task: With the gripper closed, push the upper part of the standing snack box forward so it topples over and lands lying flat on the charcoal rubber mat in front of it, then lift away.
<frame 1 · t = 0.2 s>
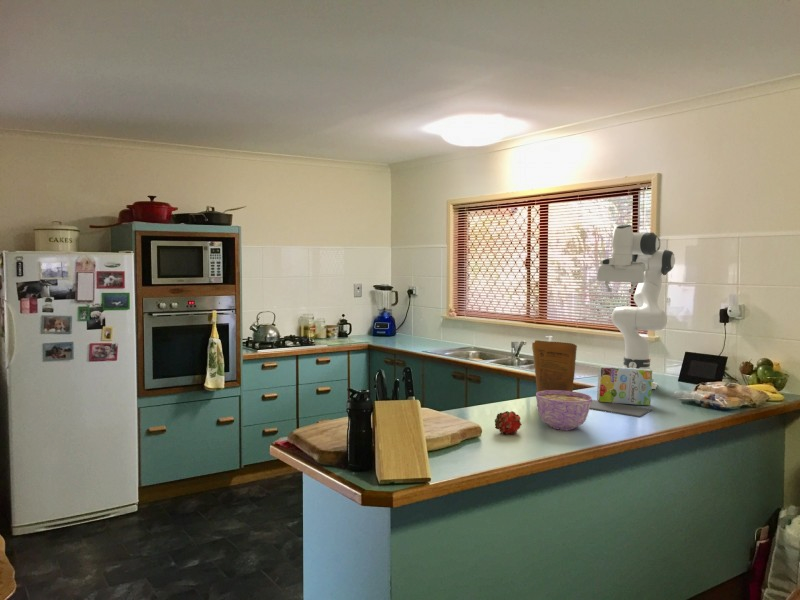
hand: (619, 292, 295), 47 cm above the table, tool pointing down, fingers open, 8 cm apart
bowl of food: (562, 427, 241), on the table
pancake mix bag: (552, 410, 269), on the table
snack box: (623, 403, 284), on the table, touching charcoal rubber mat
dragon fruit: (508, 433, 231), on the table
charcoal rubber mat: (613, 408, 274), on the table
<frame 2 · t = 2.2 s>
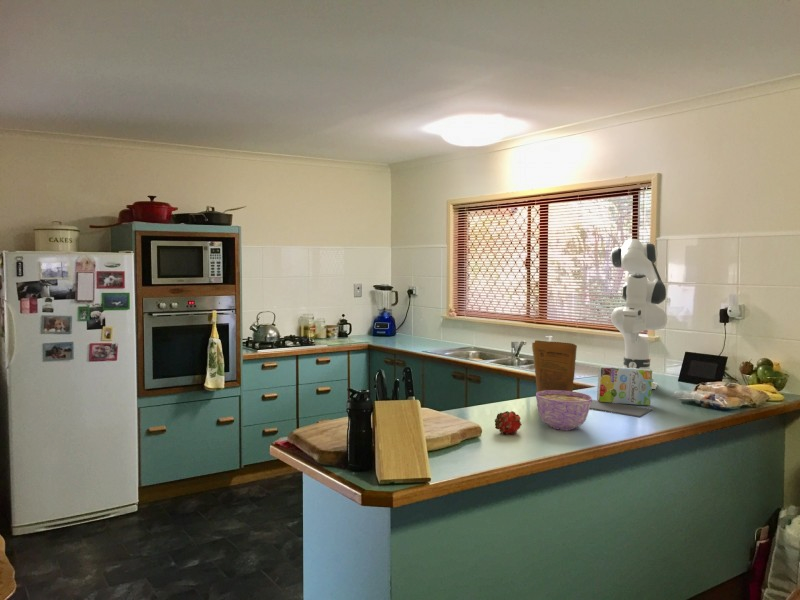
hand: (634, 342, 291), 25 cm above the table, tool pointing down, fingers closed
nothing on the table moved.
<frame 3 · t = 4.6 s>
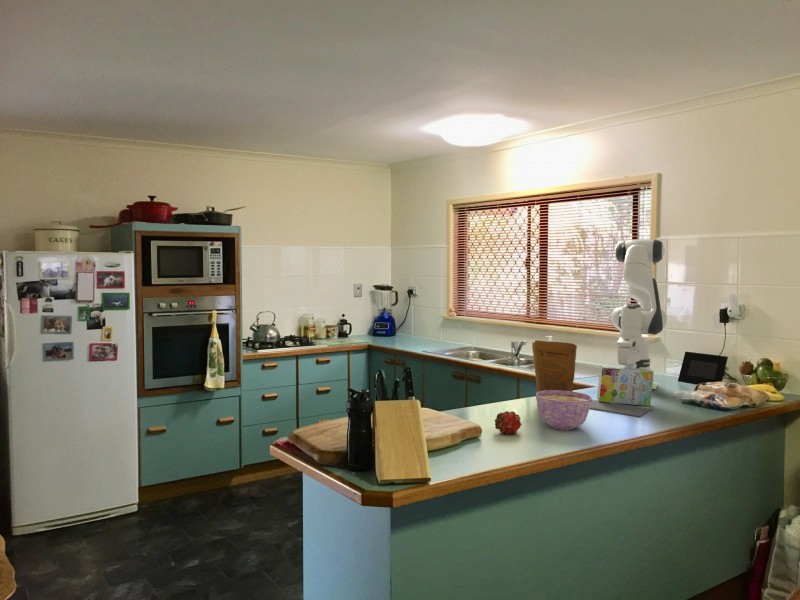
hand: (628, 373, 287), 12 cm above the table, tool pointing down, fingers closed
snack box: (623, 403, 284), on the table, touching charcoal rubber mat, gripper
everything else where it was.
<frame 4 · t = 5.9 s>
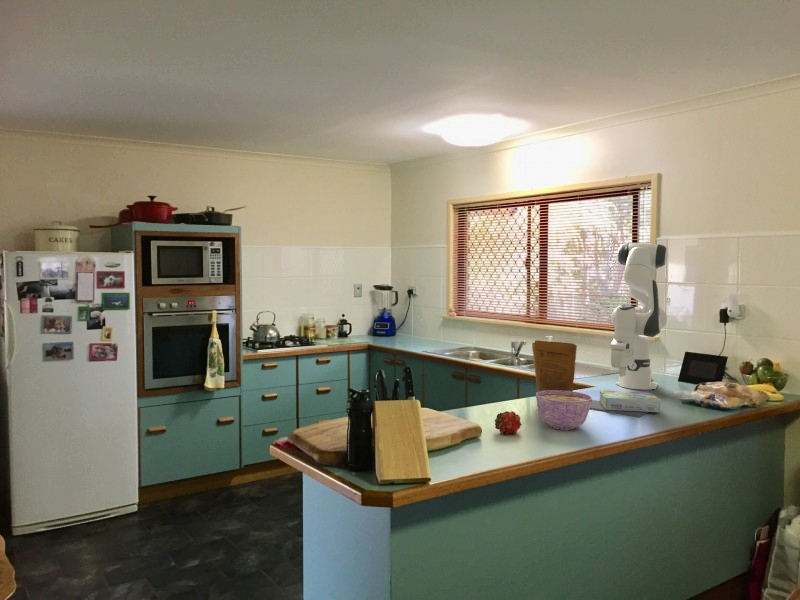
hand: (622, 376, 281), 12 cm above the table, tool pointing down, fingers closed
snack box: (625, 396, 281), point 4 cm above the table, touching charcoal rubber mat
everything else where it was.
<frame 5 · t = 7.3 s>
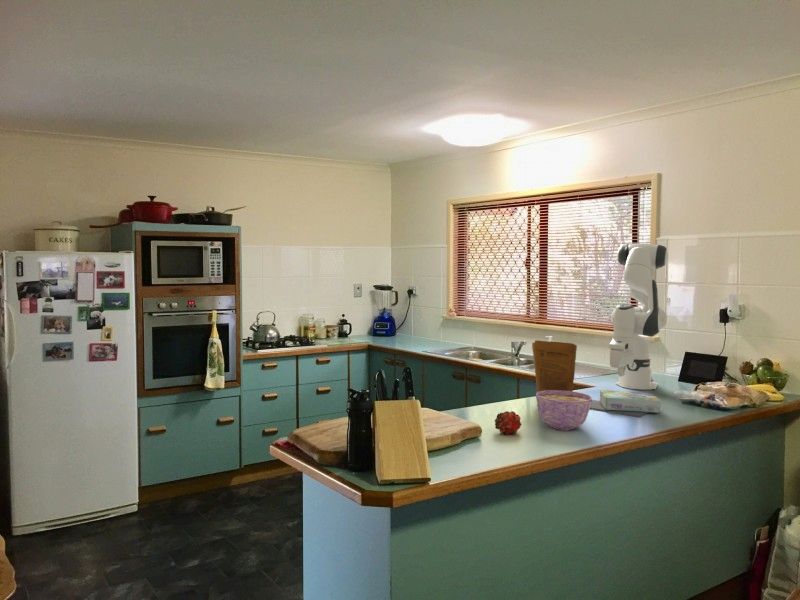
hand: (621, 375, 280), 13 cm above the table, tool pointing down, fingers closed
nothing on the table moved.
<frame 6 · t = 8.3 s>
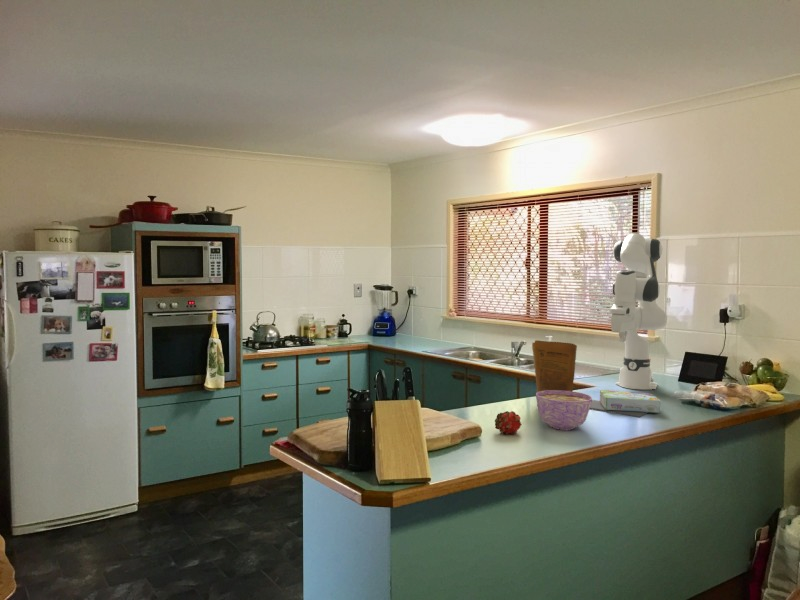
hand: (622, 341, 280), 27 cm above the table, tool pointing down, fingers closed
nothing on the table moved.
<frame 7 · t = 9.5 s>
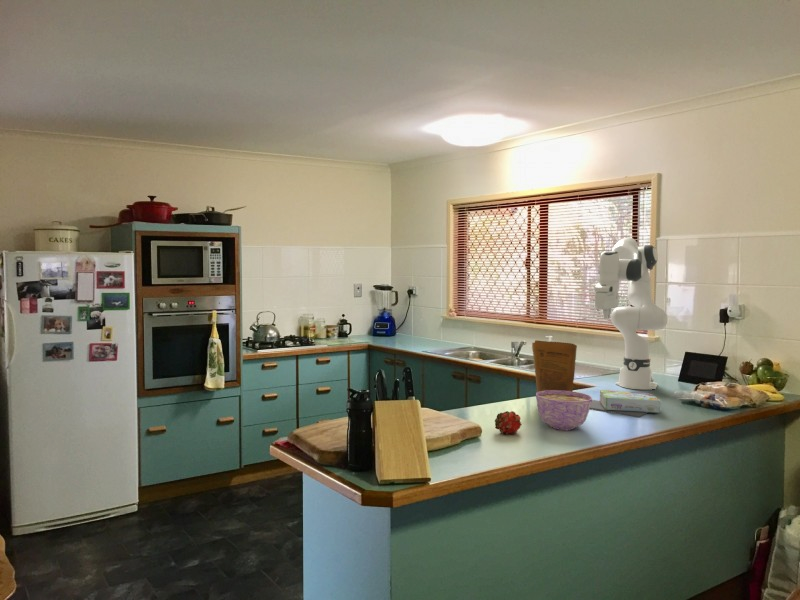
hand: (606, 318, 296), 35 cm above the table, tool pointing down, fingers closed
nothing on the table moved.
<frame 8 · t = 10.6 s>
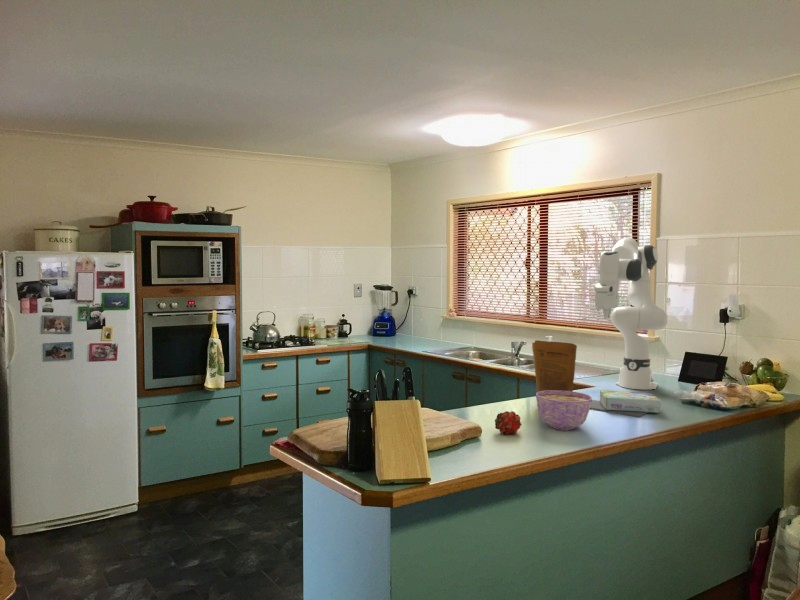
hand: (606, 318, 296), 35 cm above the table, tool pointing down, fingers closed
nothing on the table moved.
at the end: snack box tilted 91°; snack box touching charcoal rubber mat; snack box inside the target area (3.9 cm from its centre), point 3.5 cm above the table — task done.
